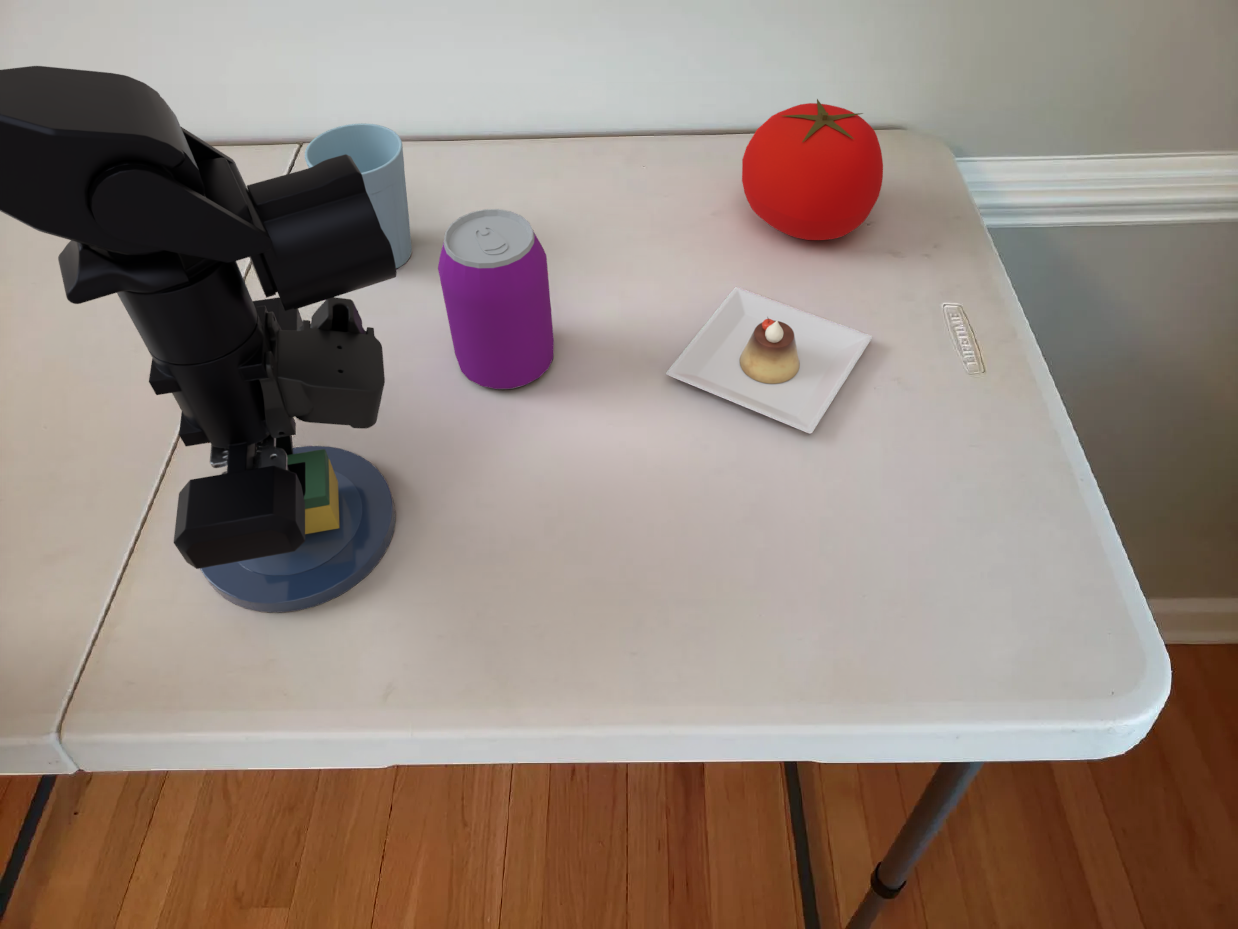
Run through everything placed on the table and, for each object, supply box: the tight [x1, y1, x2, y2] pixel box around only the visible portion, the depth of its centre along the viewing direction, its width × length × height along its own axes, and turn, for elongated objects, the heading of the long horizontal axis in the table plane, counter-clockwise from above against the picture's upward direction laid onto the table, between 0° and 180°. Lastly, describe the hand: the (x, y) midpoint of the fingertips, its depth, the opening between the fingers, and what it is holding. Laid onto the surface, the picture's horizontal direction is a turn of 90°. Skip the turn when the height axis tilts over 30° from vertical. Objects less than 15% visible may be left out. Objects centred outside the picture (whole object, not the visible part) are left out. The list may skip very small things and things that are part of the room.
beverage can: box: [437, 208, 555, 390], centre depth 68 cm, size 8×8×12 cm
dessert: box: [665, 286, 873, 434], centre depth 70 cm, size 12×12×5 cm
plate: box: [199, 445, 396, 613], centre depth 62 cm, size 13×13×1 cm
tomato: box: [741, 98, 884, 241], centre depth 80 cm, size 12×12×10 cm
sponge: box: [287, 449, 339, 534], centre depth 60 cm, size 6×4×4 cm, turn 102°
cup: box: [304, 122, 413, 270], centre depth 77 cm, size 8×8×10 cm
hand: (287, 506), depth 60 cm, fingers closed on sponge, 4 cm apart
